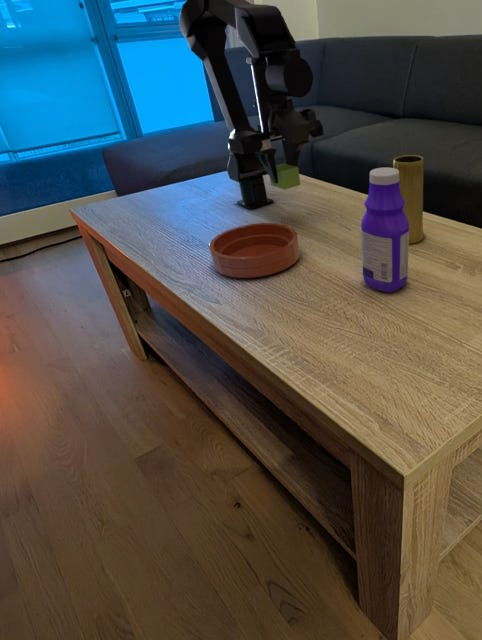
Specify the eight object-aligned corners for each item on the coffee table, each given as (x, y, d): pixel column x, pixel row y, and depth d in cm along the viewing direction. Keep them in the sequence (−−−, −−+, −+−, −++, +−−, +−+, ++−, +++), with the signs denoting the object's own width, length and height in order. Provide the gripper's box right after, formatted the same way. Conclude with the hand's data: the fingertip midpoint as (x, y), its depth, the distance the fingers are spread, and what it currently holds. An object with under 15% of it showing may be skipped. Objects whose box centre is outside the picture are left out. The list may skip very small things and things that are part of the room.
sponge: (270, 185, 93) (268, 167, 91) (286, 180, 95) (284, 163, 93) (284, 189, 90) (282, 171, 88) (300, 184, 92) (298, 166, 90)
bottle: (414, 284, 71) (417, 169, 60) (392, 298, 68) (391, 180, 57) (379, 271, 75) (377, 162, 64) (356, 284, 72) (350, 172, 61)
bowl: (199, 262, 83) (193, 241, 80) (269, 236, 90) (266, 217, 88) (242, 289, 73) (237, 267, 71) (317, 258, 81) (314, 237, 78)
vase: (423, 231, 88) (425, 153, 79) (423, 244, 83) (427, 162, 74) (391, 231, 88) (391, 154, 80) (390, 244, 84) (390, 164, 75)
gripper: (251, 104, 73) (267, 201, 82) (338, 88, 82) (343, 176, 92) (218, 100, 80) (237, 189, 89) (301, 85, 89) (310, 167, 98)
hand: (284, 180), depth 92 cm, fingers closed on sponge, 4 cm apart
